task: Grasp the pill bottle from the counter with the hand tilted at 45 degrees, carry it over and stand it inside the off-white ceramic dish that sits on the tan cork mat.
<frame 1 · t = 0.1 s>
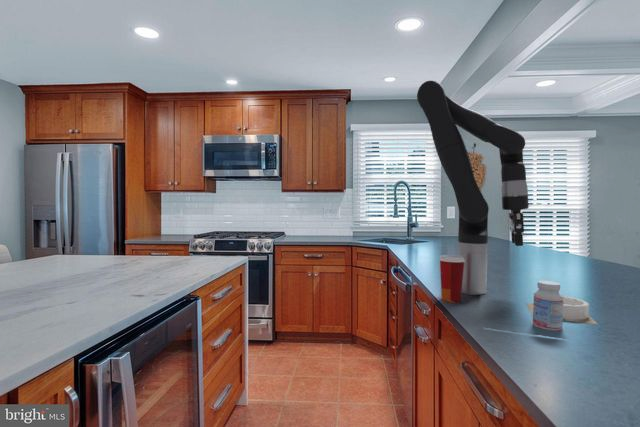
hand: (517, 244, 114), 17 cm above the counter, tool pointing down, fingers open, 8 cm apart
mat: (558, 314, 96), on the counter
pill bottle: (547, 328, 85), on the counter
paper cup: (450, 301, 109), on the counter
dish: (562, 312, 96), resting on mat
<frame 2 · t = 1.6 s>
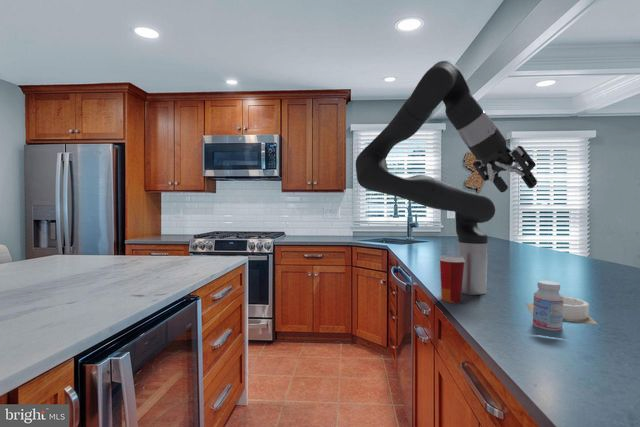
hand: (518, 188, 85), 34 cm above the counter, tool tilted 40°, fingers open, 8 cm apart
nothing on the counter moved.
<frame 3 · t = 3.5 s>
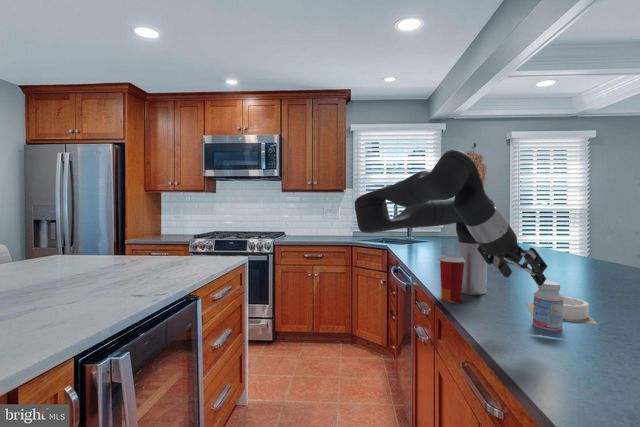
hand: (524, 278, 81), 13 cm above the counter, tool tilted 45°, fingers open, 8 cm apart
nothing on the counter moved.
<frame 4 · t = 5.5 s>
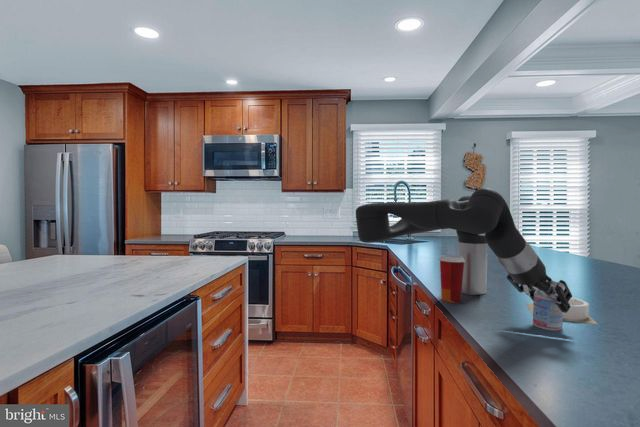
hand: (552, 305, 86), 5 cm above the counter, tool tilted 45°, fingers closed on pill bottle, 6 cm apart
pill bottle: (547, 328, 85), on the counter, touching gripper
everything else where it was.
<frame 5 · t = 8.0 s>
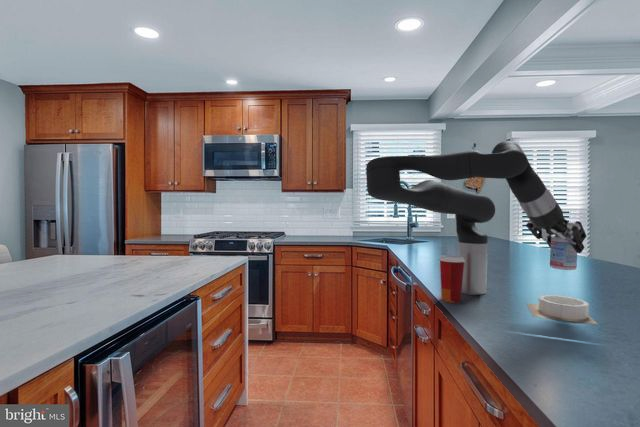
hand: (567, 249, 96), 18 cm above the counter, tool tilted 45°, fingers closed on pill bottle, 6 cm apart
pill bottle: (562, 269, 96), point 13 cm above the counter, touching gripper
everything else where it was.
when the fingers open (8 cm above the counter, at t = 10.5 s): pill bottle drops 1 cm, resting on dish.
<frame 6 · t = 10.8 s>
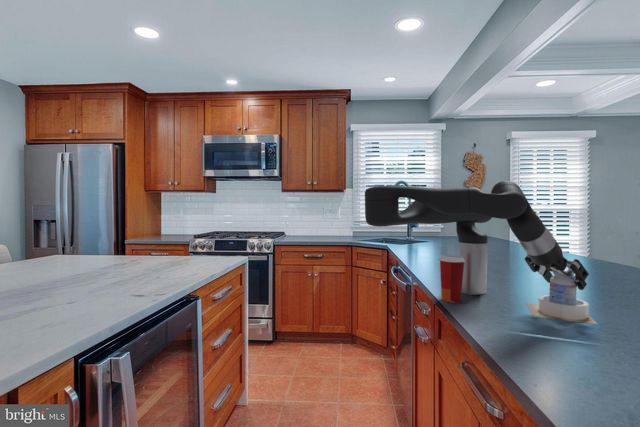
hand: (566, 284, 96), 8 cm above the counter, tool tilted 45°, fingers open, 8 cm apart
pill bottle: (562, 310, 96), point 1 cm above the counter, touching dish
everything else where it was.
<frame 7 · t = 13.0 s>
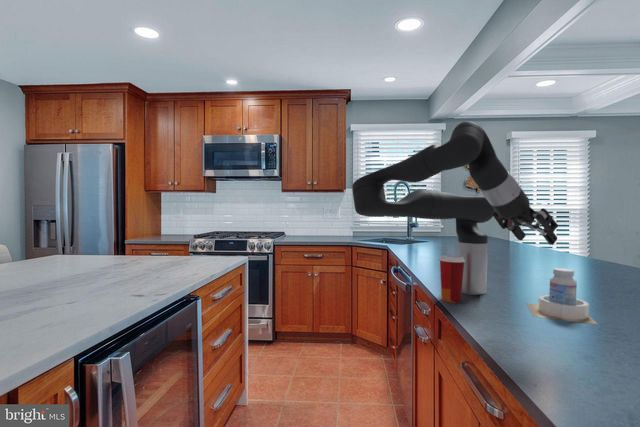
hand: (537, 240, 88), 21 cm above the counter, tool tilted 45°, fingers open, 8 cm apart
nothing on the counter moved.
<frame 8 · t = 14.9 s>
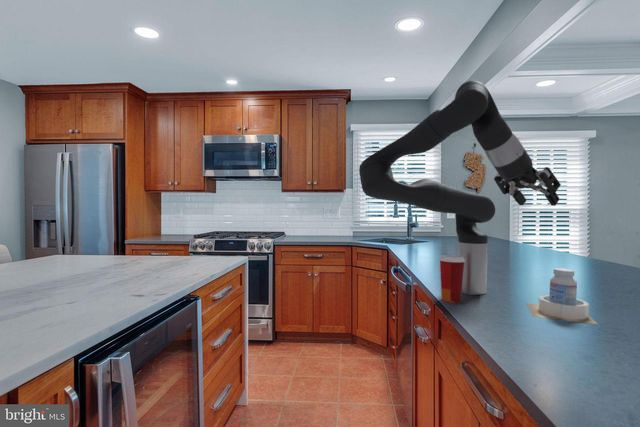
hand: (538, 203, 88), 31 cm above the counter, tool tilted 45°, fingers open, 8 cm apart
nothing on the counter moved.
at the end: pill bottle 0.1 cm off-centre on the dish, point 0.6 cm above the dish's base; pill bottle tilted 0°; the gripper is holding nothing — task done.
